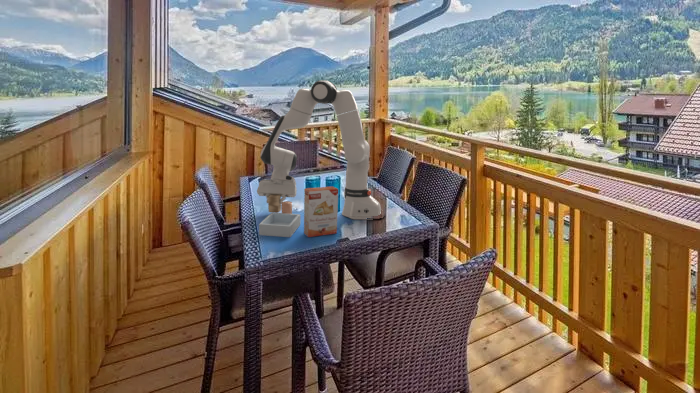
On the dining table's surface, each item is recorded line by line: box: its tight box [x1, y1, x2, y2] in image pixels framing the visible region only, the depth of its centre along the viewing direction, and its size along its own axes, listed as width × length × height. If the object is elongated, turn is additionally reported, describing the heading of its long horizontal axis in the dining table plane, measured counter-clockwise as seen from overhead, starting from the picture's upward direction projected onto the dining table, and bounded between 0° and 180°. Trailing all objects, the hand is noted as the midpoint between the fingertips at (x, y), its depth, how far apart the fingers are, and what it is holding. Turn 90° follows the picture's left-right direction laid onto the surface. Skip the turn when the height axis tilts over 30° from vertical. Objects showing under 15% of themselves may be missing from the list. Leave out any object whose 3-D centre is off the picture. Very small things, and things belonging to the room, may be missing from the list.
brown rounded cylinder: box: [281, 200, 293, 214], centre depth 197 cm, size 5×5×9 cm
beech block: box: [267, 195, 282, 213], centre depth 205 cm, size 5×5×8 cm
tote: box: [258, 212, 301, 238], centre depth 184 cm, size 14×18×5 cm
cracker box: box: [303, 186, 339, 238], centre depth 178 cm, size 14×6×21 cm, turn 117°
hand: (274, 203), depth 204 cm, fingers closed on beech block, 5 cm apart
